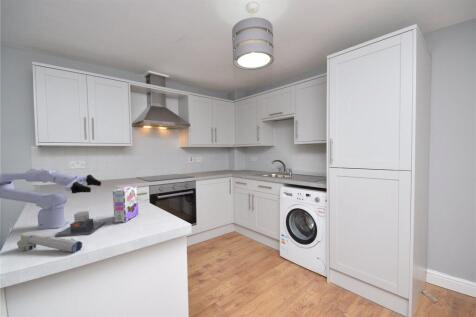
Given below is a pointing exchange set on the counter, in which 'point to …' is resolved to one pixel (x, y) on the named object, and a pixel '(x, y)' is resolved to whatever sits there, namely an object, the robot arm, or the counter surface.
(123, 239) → the counter surface
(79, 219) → the column
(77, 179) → the robot arm
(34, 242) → the grey elongated piece
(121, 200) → the candy box
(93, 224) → the stand
